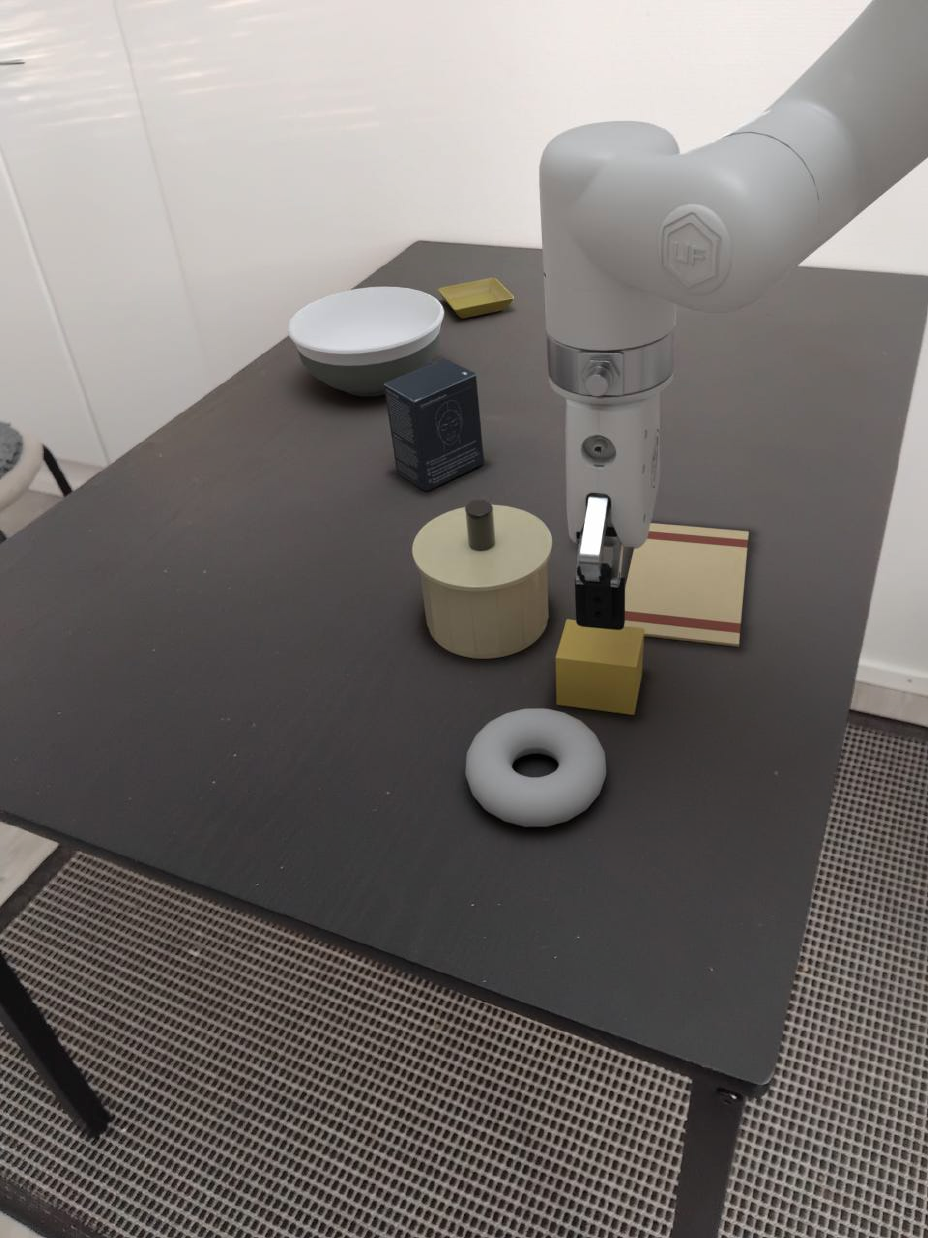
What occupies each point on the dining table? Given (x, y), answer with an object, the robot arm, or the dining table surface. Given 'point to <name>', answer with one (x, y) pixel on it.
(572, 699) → the cheese
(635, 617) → the cloth
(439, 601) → the pot
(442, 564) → the pot lid
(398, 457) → the box
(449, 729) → the dining table surface
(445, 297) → the yellow tray
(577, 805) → the donut
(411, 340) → the bowl
